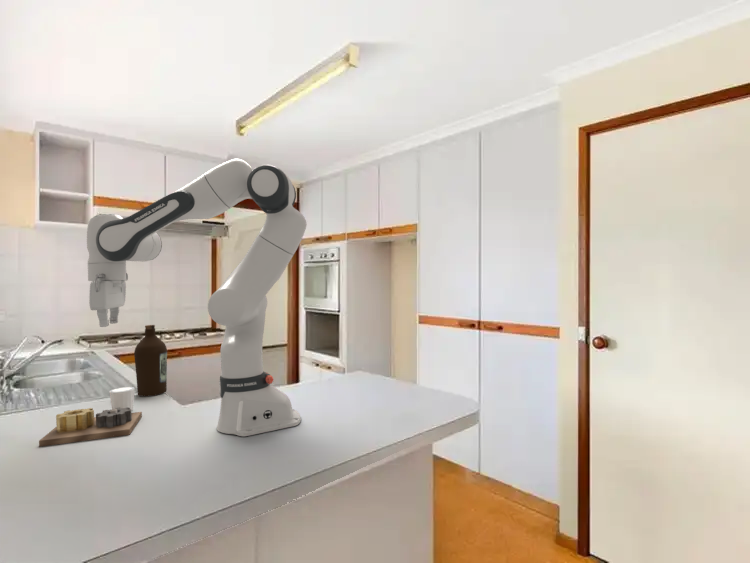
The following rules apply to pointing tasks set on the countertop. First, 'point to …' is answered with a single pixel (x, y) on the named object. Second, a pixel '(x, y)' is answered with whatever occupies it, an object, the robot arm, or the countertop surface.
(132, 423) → the gear board
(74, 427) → the brass gear
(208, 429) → the countertop surface
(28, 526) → the countertop surface
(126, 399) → the white short cylinder
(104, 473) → the countertop surface
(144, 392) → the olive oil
